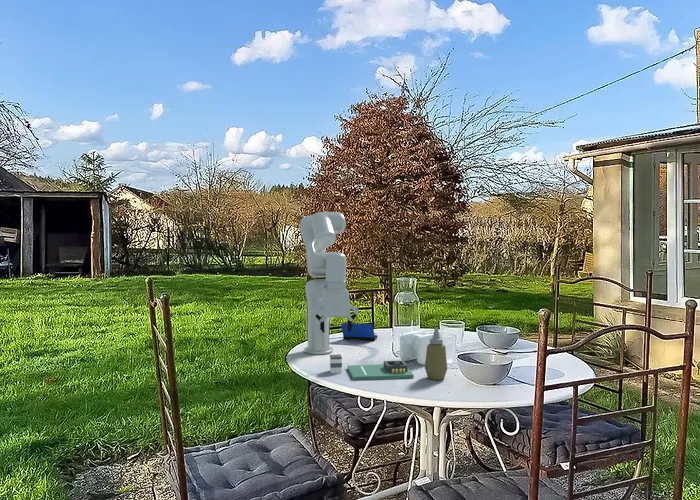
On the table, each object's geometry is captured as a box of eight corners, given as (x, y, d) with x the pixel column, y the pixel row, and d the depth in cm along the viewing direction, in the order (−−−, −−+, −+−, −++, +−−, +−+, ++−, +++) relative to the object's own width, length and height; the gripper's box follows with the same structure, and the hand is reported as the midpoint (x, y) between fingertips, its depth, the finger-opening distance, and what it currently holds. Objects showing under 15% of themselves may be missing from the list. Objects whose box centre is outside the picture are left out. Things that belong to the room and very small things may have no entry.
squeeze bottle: (442, 382, 189) (442, 331, 188) (421, 379, 193) (421, 329, 192) (450, 377, 195) (451, 328, 195) (430, 374, 200) (430, 325, 199)
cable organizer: (418, 367, 210) (418, 337, 210) (398, 362, 218) (398, 333, 217) (442, 360, 220) (442, 332, 220) (422, 356, 228) (422, 328, 227)
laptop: (378, 338, 267) (378, 319, 266) (373, 343, 254) (373, 324, 253) (347, 336, 270) (347, 318, 270) (340, 342, 257) (340, 322, 257)
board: (347, 368, 207) (347, 356, 207) (403, 366, 210) (403, 355, 210) (353, 380, 191) (353, 367, 191) (413, 378, 194) (413, 365, 194)
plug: (329, 370, 204) (329, 354, 204) (340, 370, 205) (340, 354, 204) (330, 373, 200) (330, 357, 200) (341, 373, 201) (341, 357, 200)
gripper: (313, 287, 196) (313, 334, 197) (360, 287, 198) (360, 333, 199) (312, 285, 204) (312, 330, 204) (357, 285, 206) (357, 329, 206)
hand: (336, 331), depth 201 cm, fingers open, 9 cm apart
